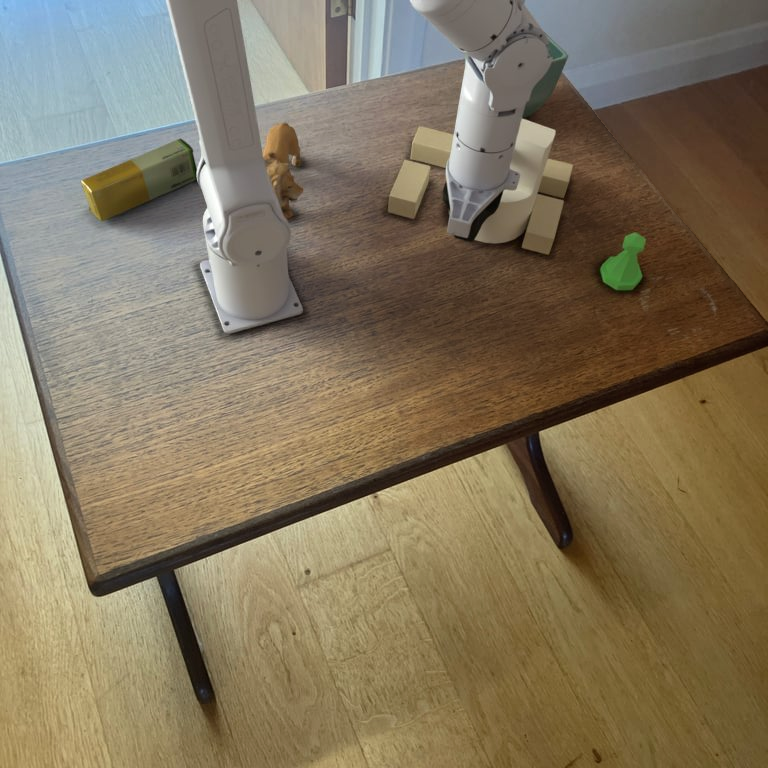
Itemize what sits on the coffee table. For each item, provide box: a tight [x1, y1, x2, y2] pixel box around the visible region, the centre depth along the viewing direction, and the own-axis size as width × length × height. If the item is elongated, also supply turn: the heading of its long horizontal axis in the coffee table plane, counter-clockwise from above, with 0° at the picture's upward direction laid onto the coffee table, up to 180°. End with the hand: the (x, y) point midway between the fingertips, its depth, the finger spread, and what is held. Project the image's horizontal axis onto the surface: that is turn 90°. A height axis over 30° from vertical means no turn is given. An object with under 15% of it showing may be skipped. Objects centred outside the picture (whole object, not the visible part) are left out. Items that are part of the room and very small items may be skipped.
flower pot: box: [464, 31, 569, 119], centre depth 96 cm, size 9×9×9 cm
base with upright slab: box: [448, 118, 556, 244], centre depth 85 cm, size 9×9×12 cm
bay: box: [387, 125, 574, 255], centre depth 91 cm, size 12×18×2 cm, turn 73°
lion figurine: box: [262, 122, 304, 220], centre depth 86 cm, size 15×5×9 cm, turn 4°
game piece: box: [599, 231, 647, 291], centre depth 84 cm, size 4×4×6 cm
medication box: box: [80, 138, 197, 222], centre depth 87 cm, size 12×3×4 cm, turn 129°
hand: (464, 236), depth 86 cm, fingers closed
